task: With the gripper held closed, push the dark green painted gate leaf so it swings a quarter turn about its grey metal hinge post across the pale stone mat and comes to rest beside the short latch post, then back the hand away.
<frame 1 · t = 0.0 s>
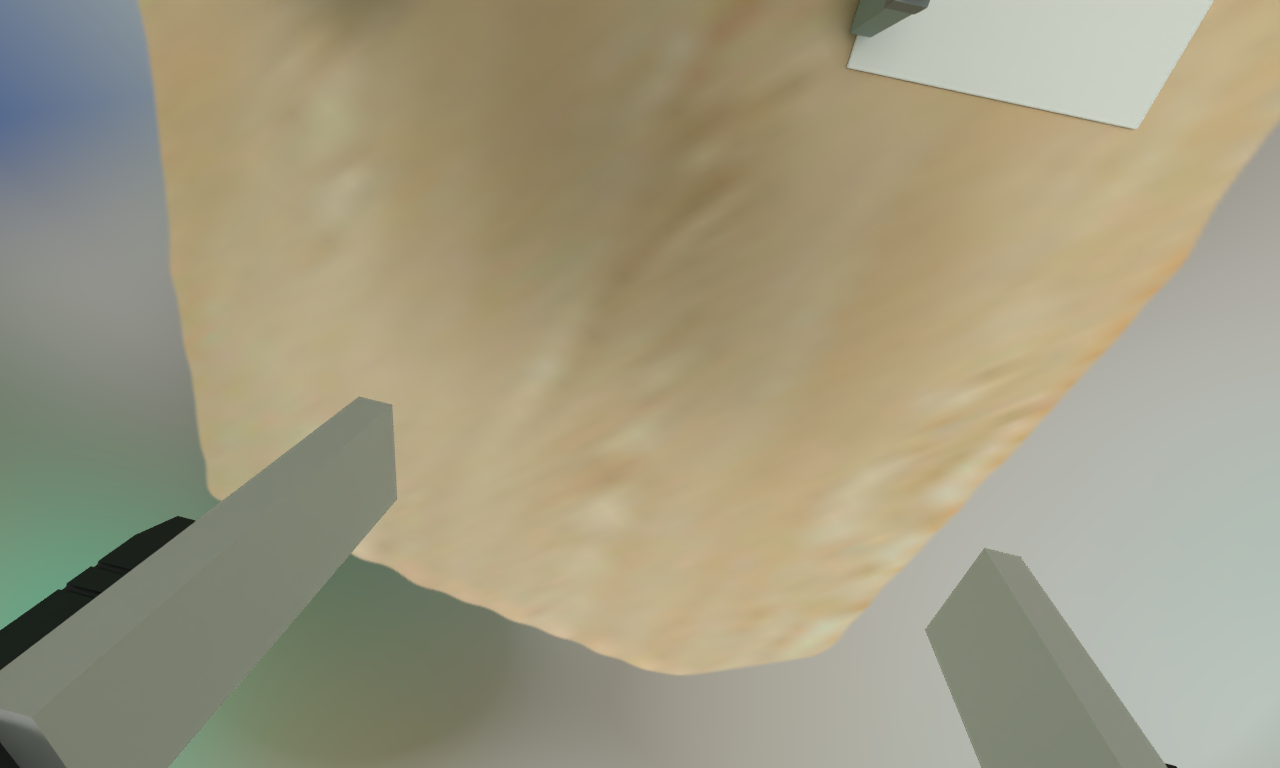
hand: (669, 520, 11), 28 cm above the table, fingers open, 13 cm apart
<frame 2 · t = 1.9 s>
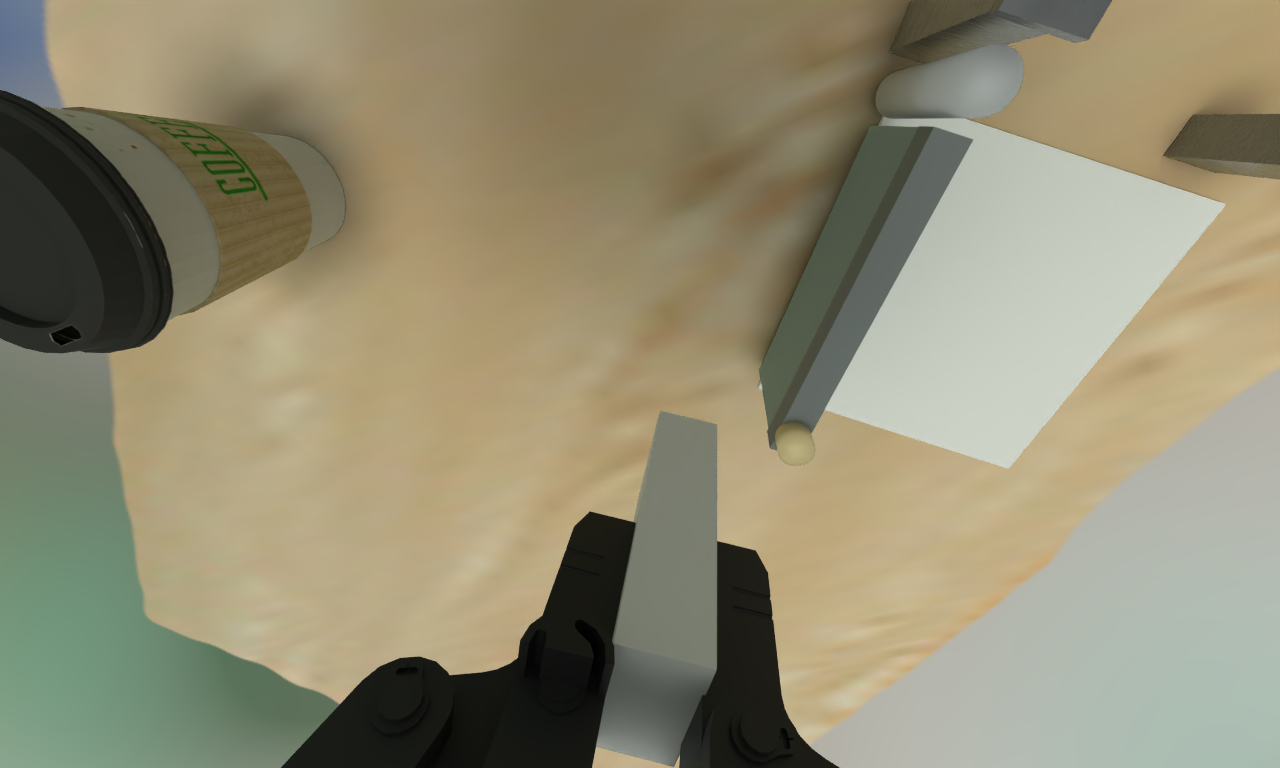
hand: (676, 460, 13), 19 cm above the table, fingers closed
coffee cup: (299, 191, 31), on the table
hinge post: (920, 33, 23), on the table
mat: (956, 307, 29), on the table
latch post: (1204, 144, 24), on the table
gate: (849, 266, 23), point 6 cm above the table, hinge at 0.0°
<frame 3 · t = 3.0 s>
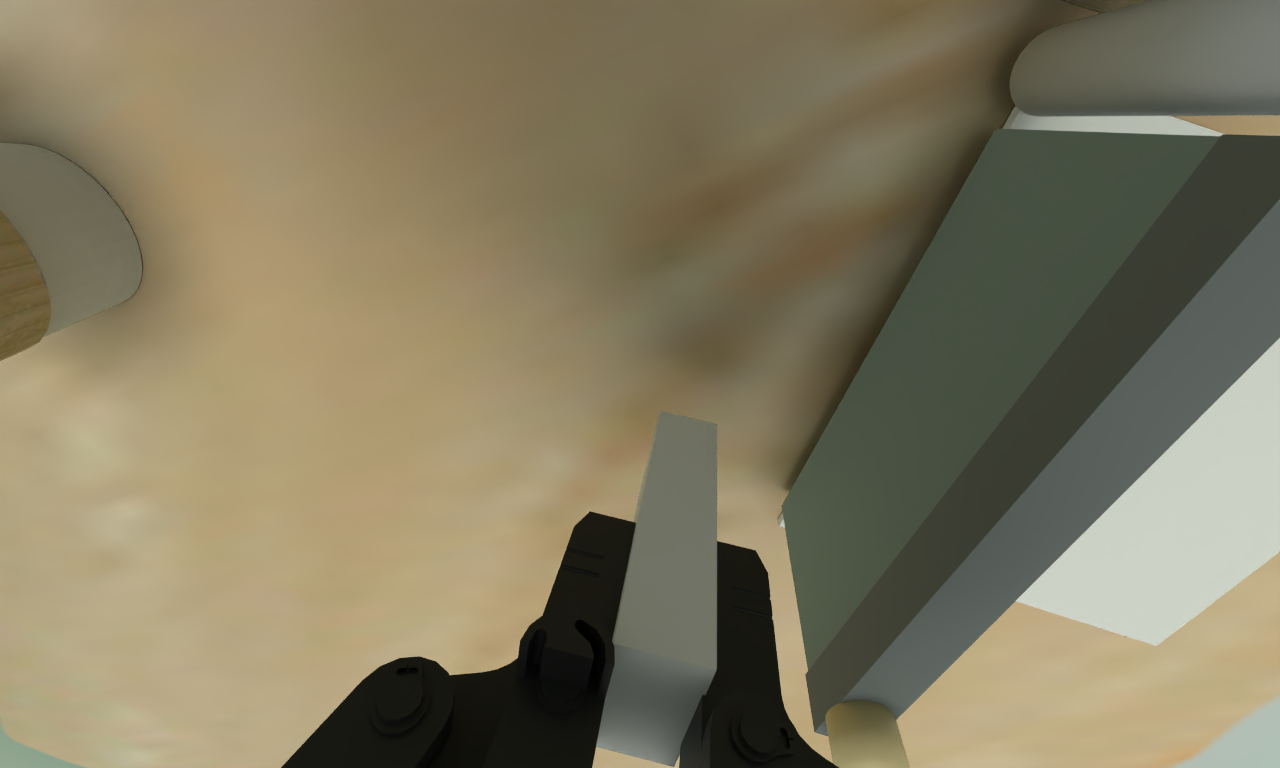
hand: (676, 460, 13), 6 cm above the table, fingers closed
coffee cup: (71, 229, 20), on the table
mat: (1104, 422, 18), on the table
gate: (969, 401, 12), point 6 cm above the table, hinge at 0.0°
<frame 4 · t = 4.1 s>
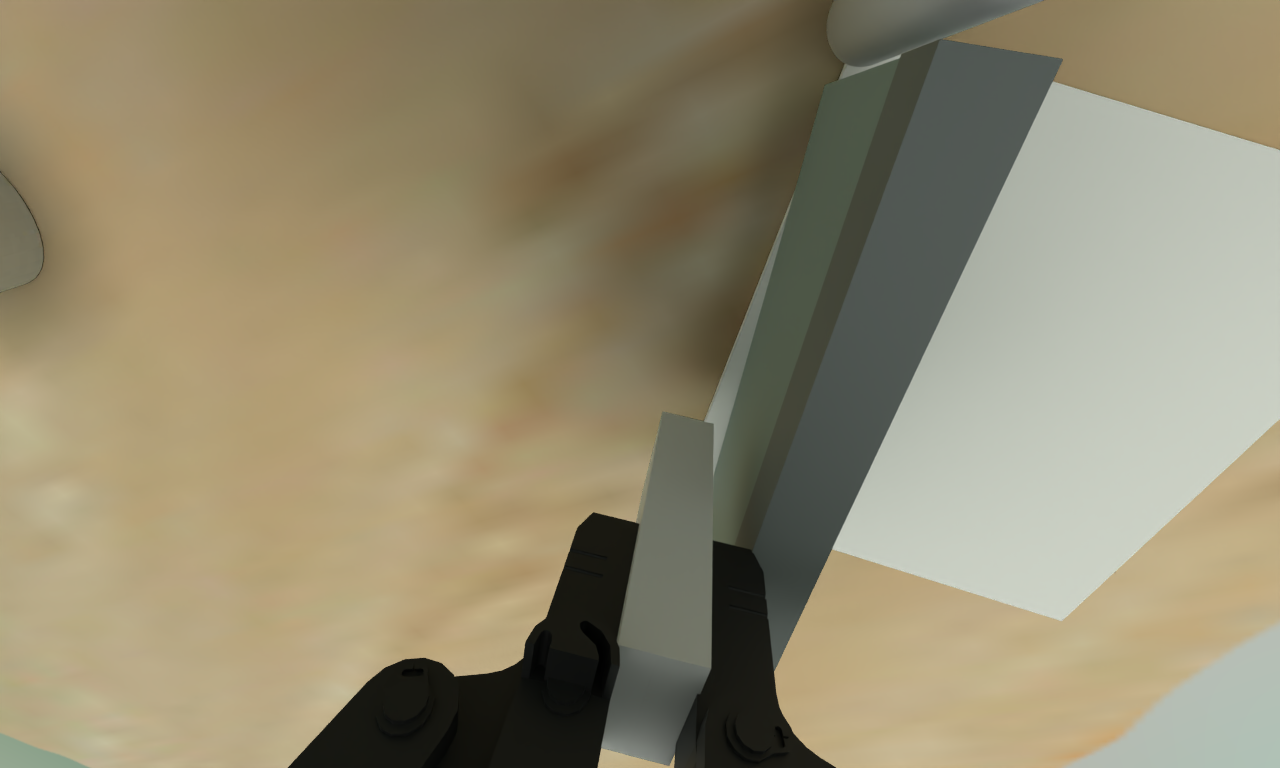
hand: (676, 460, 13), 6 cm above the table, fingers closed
mat: (980, 387, 17), on the table
gate: (805, 358, 12), point 6 cm above the table, hinge at 6.2°, touching gripper
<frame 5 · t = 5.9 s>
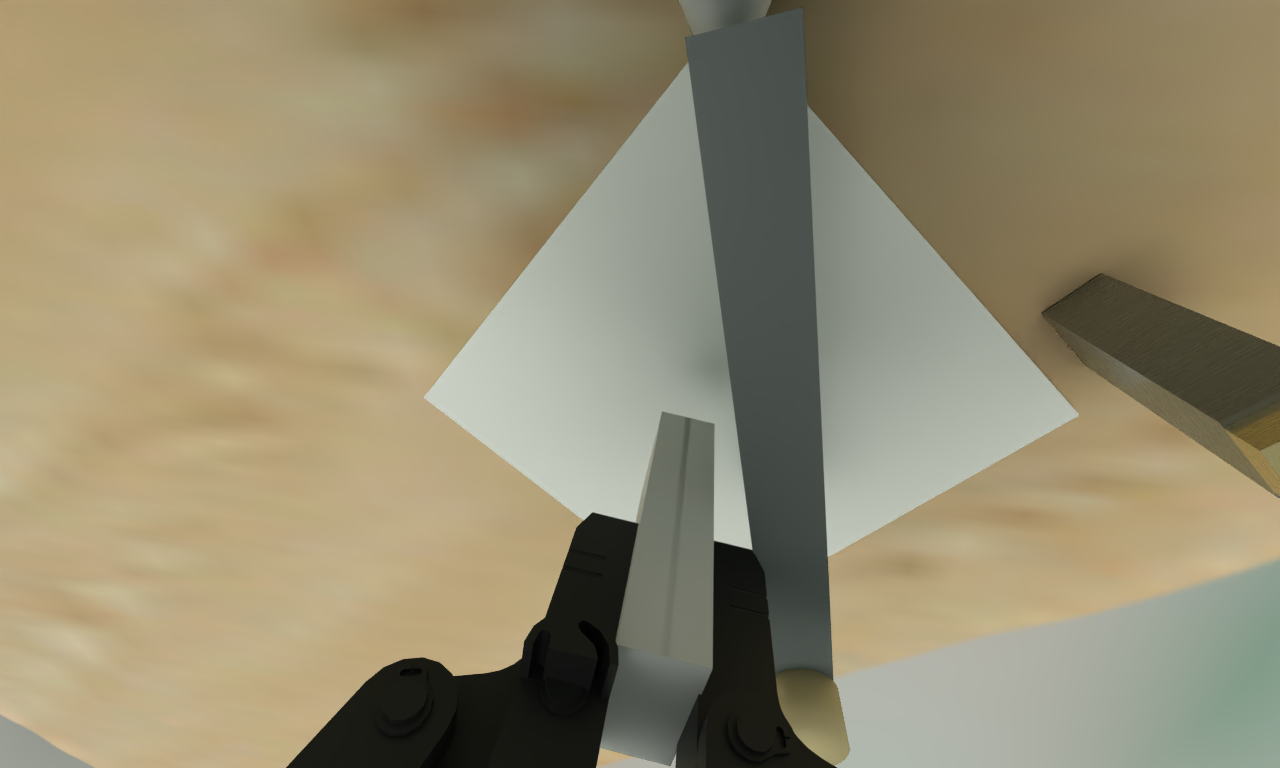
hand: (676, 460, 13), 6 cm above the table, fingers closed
mat: (719, 400, 19), on the table
latch post: (1093, 321, 16), on the table
gate: (764, 342, 12), point 6 cm above the table, hinge at 53.2°, touching gripper
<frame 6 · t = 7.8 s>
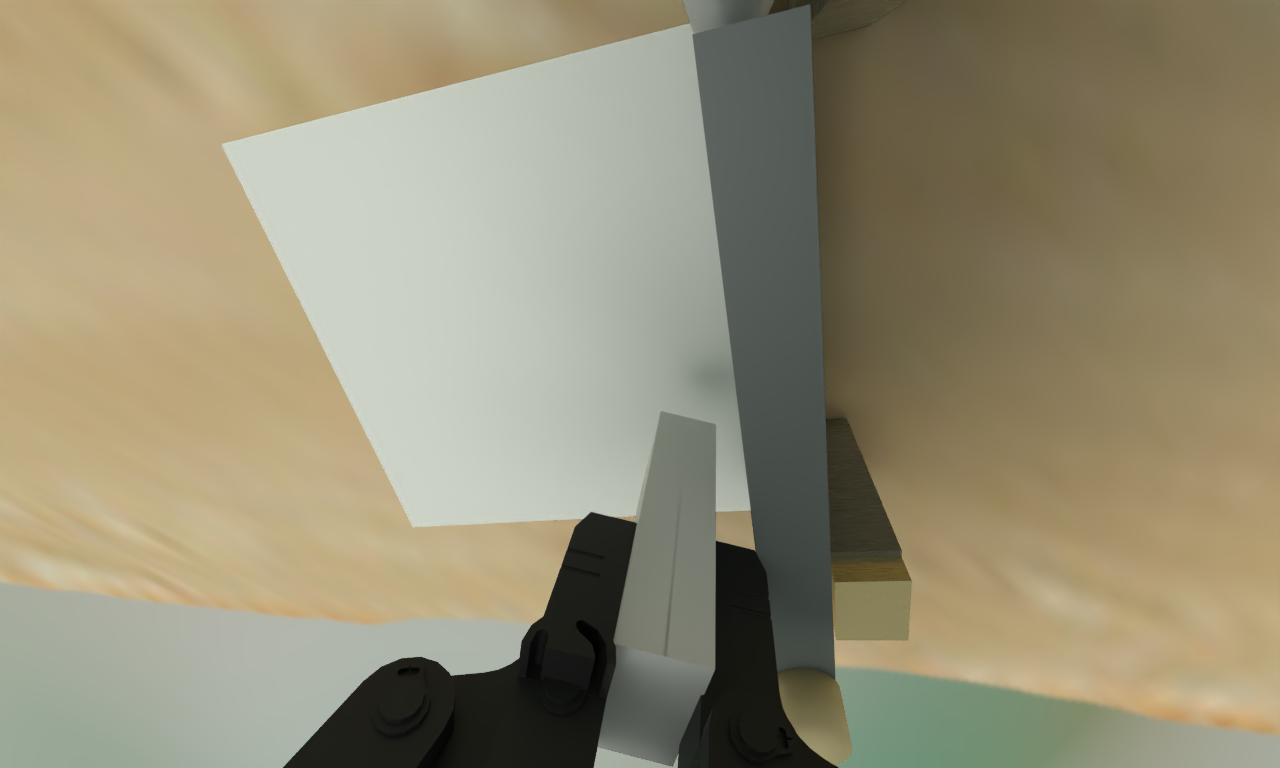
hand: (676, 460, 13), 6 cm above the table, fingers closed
mat: (528, 340, 19), on the table
latch post: (822, 449, 20), on the table
gate: (765, 341, 12), point 6 cm above the table, hinge at 90.0°, touching gripper
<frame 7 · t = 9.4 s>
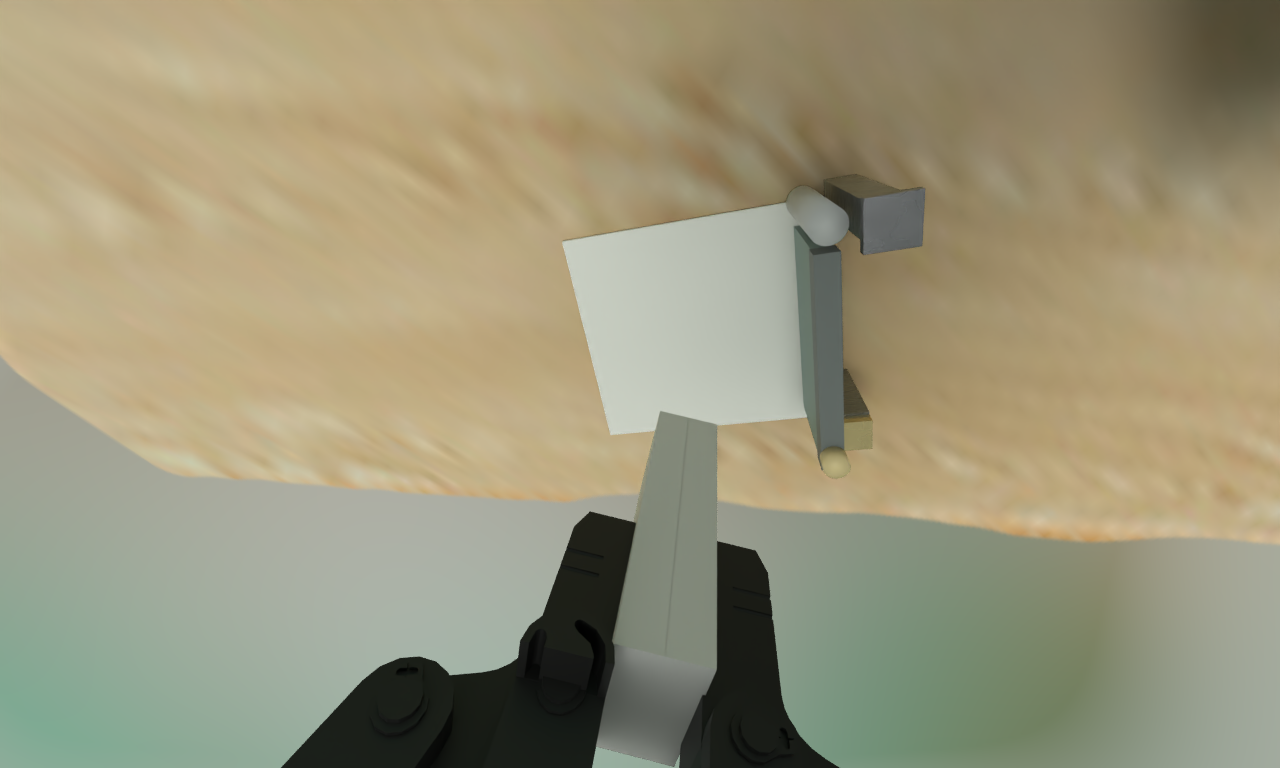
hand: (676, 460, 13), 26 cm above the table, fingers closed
hinge post: (839, 192, 34), on the table
mat: (692, 331, 40), on the table
latch post: (834, 385, 40), on the table
gate: (818, 330, 32), point 6 cm above the table, hinge at 90.1°
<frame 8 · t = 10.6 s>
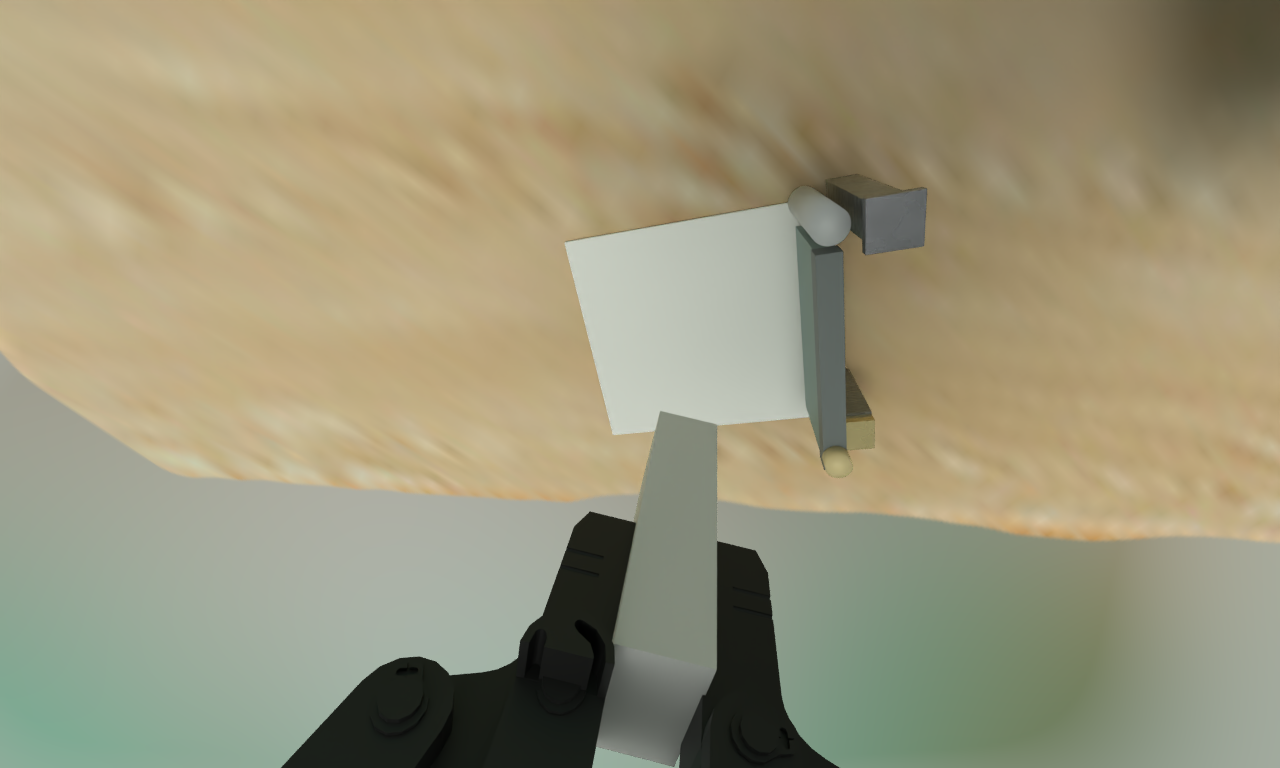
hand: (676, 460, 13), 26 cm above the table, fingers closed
hinge post: (841, 192, 34), on the table
mat: (694, 332, 40), on the table
latch post: (837, 384, 40), on the table
gate: (820, 329, 32), point 6 cm above the table, hinge at 90.1°
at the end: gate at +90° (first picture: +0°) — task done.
